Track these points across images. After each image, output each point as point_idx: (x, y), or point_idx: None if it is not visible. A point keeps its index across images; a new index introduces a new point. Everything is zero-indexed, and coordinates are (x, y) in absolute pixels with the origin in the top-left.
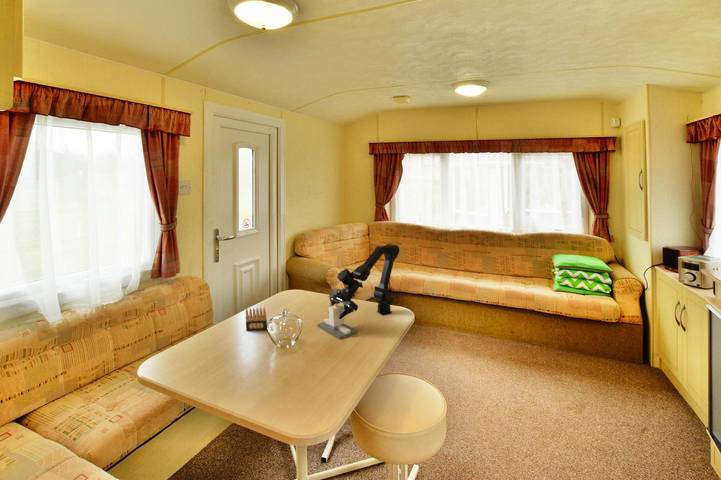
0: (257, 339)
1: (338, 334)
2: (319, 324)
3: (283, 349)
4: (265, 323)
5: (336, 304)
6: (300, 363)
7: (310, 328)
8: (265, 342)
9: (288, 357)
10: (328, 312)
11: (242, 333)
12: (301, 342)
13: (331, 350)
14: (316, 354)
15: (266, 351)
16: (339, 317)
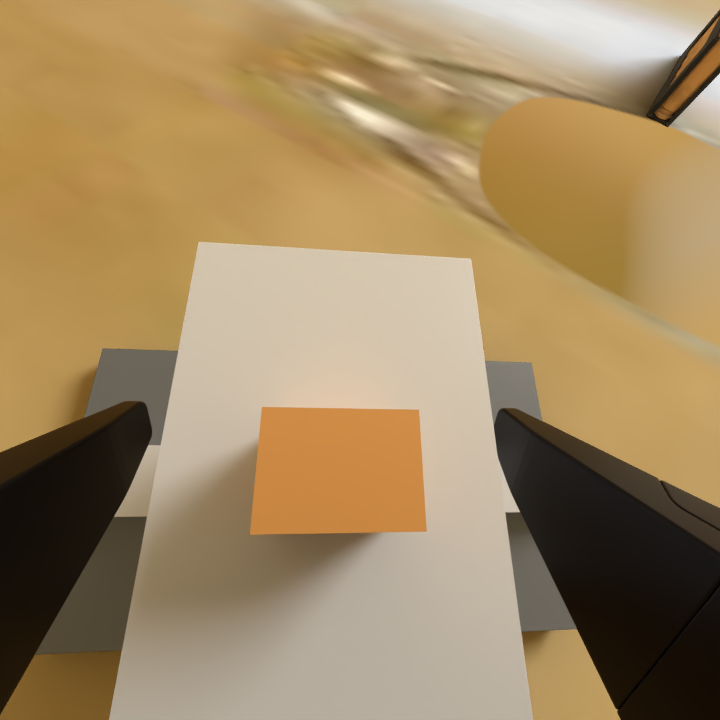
0: (541, 40)
1: (155, 376)
2: (513, 377)
3: (324, 51)
4: (693, 59)
5: (272, 469)
6: (94, 21)
7: (512, 306)
8: (478, 43)
9: (214, 23)
10: (510, 409)
11: (658, 35)
12: (328, 145)
13: (30, 199)
14: (91, 113)
15: (370, 5)
16: (112, 408)
